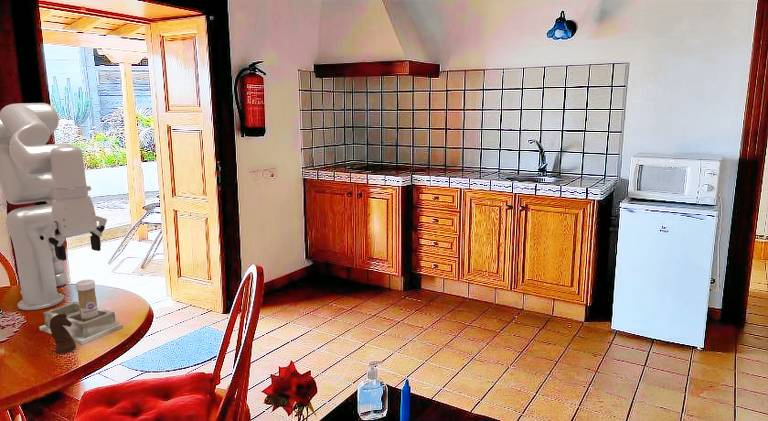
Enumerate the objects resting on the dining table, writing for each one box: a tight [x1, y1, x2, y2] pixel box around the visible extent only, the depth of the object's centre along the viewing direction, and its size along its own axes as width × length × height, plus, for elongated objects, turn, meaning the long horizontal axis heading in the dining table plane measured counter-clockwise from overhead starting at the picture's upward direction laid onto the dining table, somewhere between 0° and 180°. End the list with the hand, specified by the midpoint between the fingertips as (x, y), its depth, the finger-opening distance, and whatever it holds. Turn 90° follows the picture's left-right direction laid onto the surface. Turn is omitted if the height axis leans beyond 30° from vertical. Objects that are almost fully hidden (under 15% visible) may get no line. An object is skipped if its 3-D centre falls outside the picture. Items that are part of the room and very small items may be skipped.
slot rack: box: [38, 301, 123, 345], centre depth 154 cm, size 20×12×5 cm, turn 61°
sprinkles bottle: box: [75, 279, 99, 322], centre depth 151 cm, size 5×5×14 cm
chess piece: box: [50, 313, 77, 355], centre depth 140 cm, size 5×5×10 cm
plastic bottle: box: [42, 233, 68, 287], centre depth 188 cm, size 6×7×20 cm
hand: (79, 254), depth 147 cm, fingers open, 9 cm apart
